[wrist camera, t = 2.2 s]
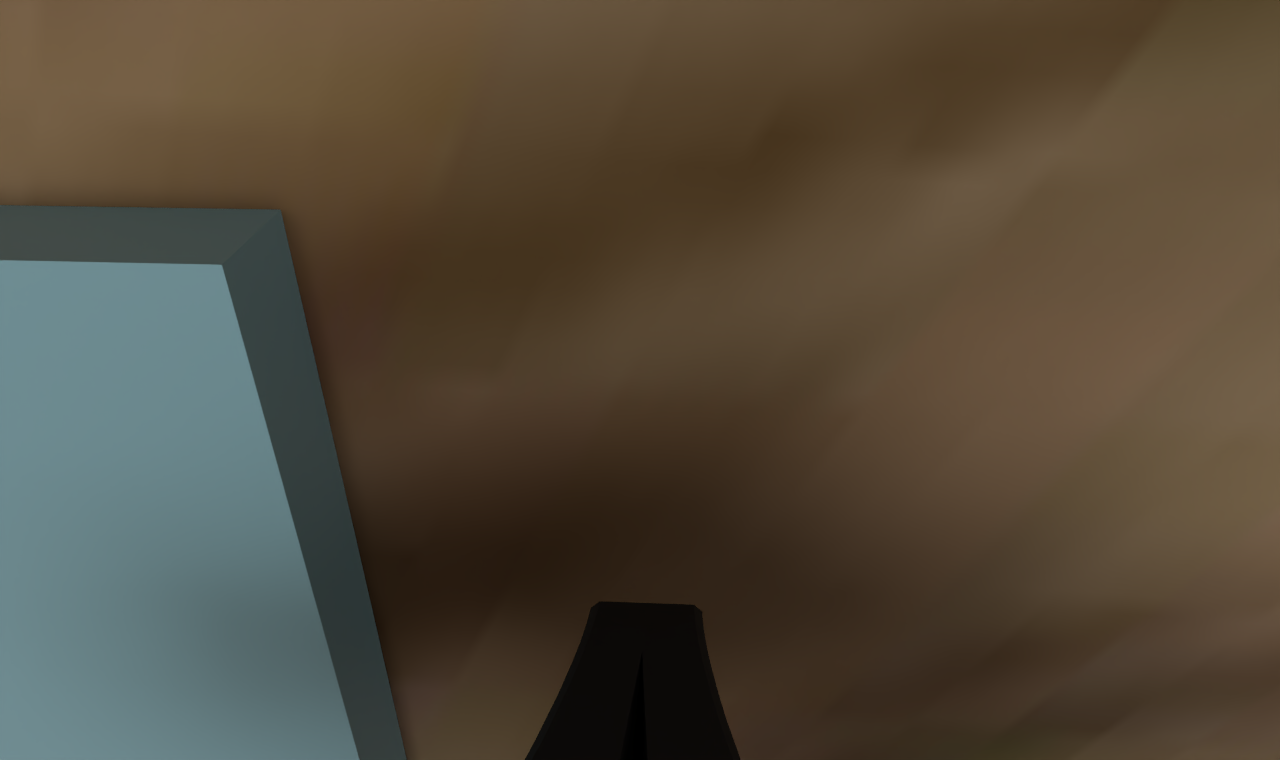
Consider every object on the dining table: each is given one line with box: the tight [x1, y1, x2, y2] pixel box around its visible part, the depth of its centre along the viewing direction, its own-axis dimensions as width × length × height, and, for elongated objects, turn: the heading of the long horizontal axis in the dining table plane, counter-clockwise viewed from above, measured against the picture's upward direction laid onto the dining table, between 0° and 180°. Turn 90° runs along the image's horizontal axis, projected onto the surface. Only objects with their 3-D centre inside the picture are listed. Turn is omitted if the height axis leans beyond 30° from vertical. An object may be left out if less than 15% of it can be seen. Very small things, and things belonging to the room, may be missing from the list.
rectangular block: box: [0, 205, 407, 760], centre depth 13 cm, size 11×7×2 cm, turn 0°
